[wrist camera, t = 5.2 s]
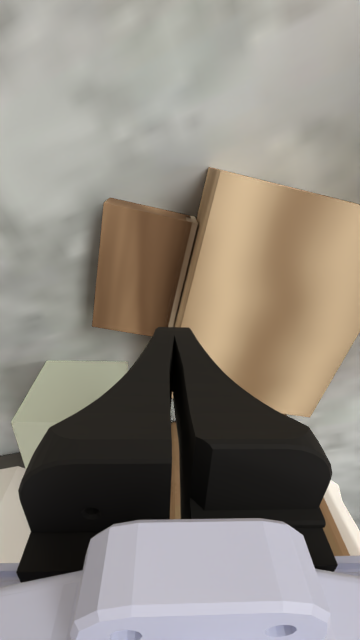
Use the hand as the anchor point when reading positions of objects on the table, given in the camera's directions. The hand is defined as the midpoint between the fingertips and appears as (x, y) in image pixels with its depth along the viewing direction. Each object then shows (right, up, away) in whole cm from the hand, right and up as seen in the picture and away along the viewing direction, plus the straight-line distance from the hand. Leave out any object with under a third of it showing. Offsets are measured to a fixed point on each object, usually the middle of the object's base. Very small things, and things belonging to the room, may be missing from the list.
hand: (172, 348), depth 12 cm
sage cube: (-7, -5, +12) cm, 15 cm away
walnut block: (0, +4, +7) cm, 8 cm away
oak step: (+5, +3, +8) cm, 10 cm away
